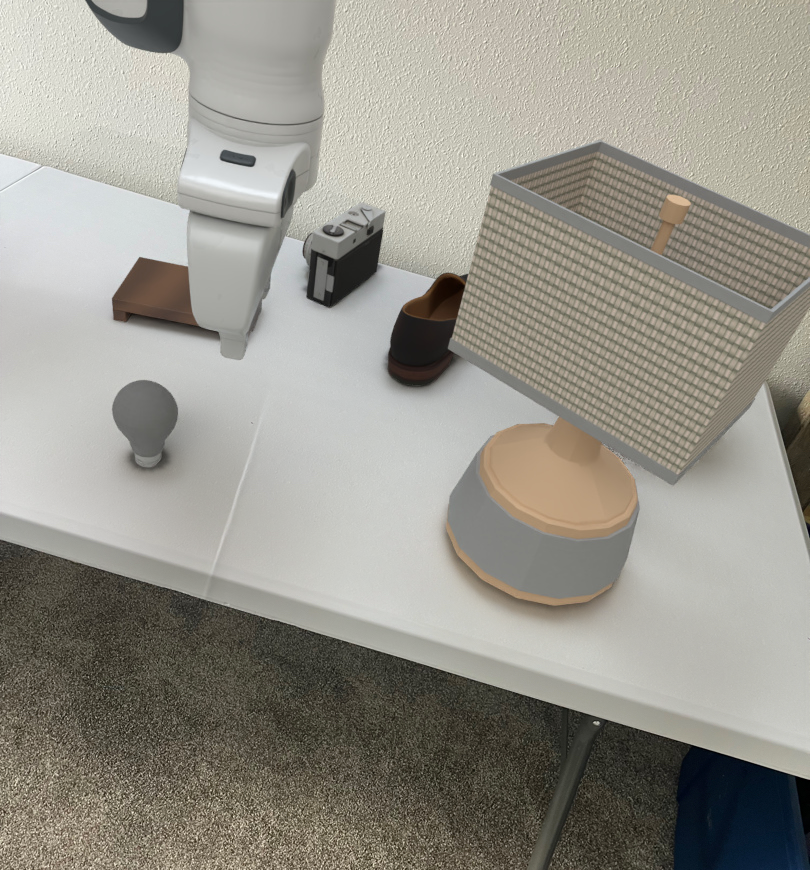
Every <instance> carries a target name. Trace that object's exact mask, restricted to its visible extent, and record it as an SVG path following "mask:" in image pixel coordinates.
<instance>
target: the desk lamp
mask: <svg viewBox="0 0 810 870" xmlns="http://www.w3.org/2000/svg"><path fill="white" fill-rule="evenodd" d="M489 186H490V189H489V193H488V197H487V201H486V205H485V209H484V212H483V217H482V220H481V224H480V227H479V231H478V236H477V240H476V243H475V247H474V251H473V255H472V259H471V263H470V266H469V270H468V273H467V274H468V278H467V282H466V285H465V289H464V293H463V297H462V301H461V305H460V309H459V312H458V316H457V320H456V324H455V328H454V332H453V336H452V338H450V342H449V346H448V349H449V350H451V351H452V352H454V353H455V354H456V355H457V356H459V357H461V358H462V359H464V360H465V361H467V362H469V363H470V364H472V365H474V366H475V367H477V368H478V369H480V370H481V371H483V372H485V373H487V374H488V375H490V376H491V377H493V378H494V379H497V380H498V381H499V382H502V384H505V385H506V386H508V387H510V388H511V389H513V390H514V391H516V392H518V393H520V394H521V395H522V396H524V397H526V398H527V399H529V400H531V401H533V402H534V403H536V404H538V405H539V406H541V407H543V408H544V409H546V410H547V411H549V412H551V413H552V414H554V415H556V416H557V419H556V421H555V422H554V423H553V424H549V423H545V422H541V423H540V422H539V423H517V424H514V425H512V426H509V427H506V428H504V429H502V430H499V431H496V432H495V434H493V435H490V436H489V437H488V438H487V439H486V441H485V442H484V443H483V444H482V446H481V447H480V448H479V449H478V450H477V452H476V453H475V455H474V457H473V458H472V460H471V461H470V463H469V464H468V466H467V468H466V469H465V471H463V472H464V473H463V474H462V475H461V477H460V479H459V480H458V482H457V483H456V485H455V486H454V488H453V490H452V491H451V493H450V495H449V500H448V505H447V513H446V524H445V526H446V527H445V530H446V532H447V535H448V537H449V539H450V541H451V543H452V546H453V548H454V551H455V553H456V556H457V557H458V558H460V559H461V561H463V562H464V564H465V565H466V566H468V568H469V569H471V571H472V572H474V574H476V575H477V577H479V578H480V580H482V581H484V582H485V583H487V584H489V585H491V586H493V587H495V588H497V589H499V590H500V591H502V592H503V593H506V594H508V595H509V596H512V597H513V598H516V599H519V600H523V601H529V602H534V603H539V604H543V605H549V606H553V607H554V606H555V607H556V606H564V605H571V604H573V605H574V604H579V603H587V602H589V601H591V600H593V599H595V598H596V597H598V596H599V595H601V594H603V593H604V592H607V590H609V589H611V588H612V586H613V585H614V583H615V582H616V581H617V580H618V578H619V577H620V575H621V573H622V570H623V568H624V566H625V564H626V561H627V560H628V557H629V553H630V548H631V545H632V541H633V538H634V532H635V530H636V525H637V521H638V517H639V513H640V510H641V507H640V506H641V505H640V501H639V500H640V499H639V493H638V487H637V485H636V479H635V478H634V476H633V475H632V473H631V471H630V470H629V469H628V467H627V466H626V465H625V463H624V461H623V460H622V459H621V458H620V457H619V456H618V455H617V454H616V453H614V452H613V451H615V452H617V453H618V454H620V455H622V456H623V457H624V458H626V459H628V460H630V461H631V462H633V463H634V464H636V465H638V466H640V467H641V468H643V469H645V470H646V471H648V472H649V473H651V474H652V475H655V476H656V477H658V479H661V480H663V481H664V482H666V483H667V484H669V485H671V486H672V487H673V486H675V485H676V484H677V483H678V482H679V481H680V479H682V478H683V477H684V475H685V474H687V472H688V471H689V470H690V469H692V468H693V466H694V465H696V463H697V462H698V461H699V460H701V458H703V456H704V455H705V454H706V453H707V452H708V451H709V450H710V449H711V448H713V446H714V445H716V444H717V442H718V441H719V440H720V439H721V438H722V437H723V436H724V435H725V434H726V433H727V432H728V431H729V430H730V429H731V428H732V427H733V426H734V425H735V424H736V423H737V422H738V421H739V420H740V419H741V418H742V416H743V415H744V414H745V413H746V412H748V410H750V408H751V407H752V406H753V404H754V402H755V400H756V396H758V393H759V392H760V390H761V388H762V387H763V385H764V383H765V382H766V380H767V379H768V377H769V375H770V373H771V372H772V371H773V369H774V367H775V365H776V364H777V362H778V361H779V359H780V358H781V356H782V354H783V352H784V351H785V349H786V348H787V346H788V344H789V343H790V341H791V340H792V338H793V336H794V335H795V333H796V331H797V330H798V328H799V326H800V324H801V323H802V321H803V319H804V318H805V316H806V315H807V313H808V311H809V310H810V233H808V232H805V231H803V230H802V229H799V228H798V227H794V226H792V225H790V224H788V223H786V222H783V221H781V220H779V219H777V218H775V217H773V216H771V215H768V214H765V212H764V213H763V212H761V211H759V210H757V209H755V208H753V207H750V206H748V205H745V204H744V203H741V202H739V201H737V200H735V199H732V198H730V197H728V196H726V195H723V194H721V193H719V192H717V191H715V190H713V189H711V188H708V187H705V186H703V185H701V184H699V183H697V182H694V181H692V180H690V179H688V178H687V177H684V176H681V175H679V174H677V173H675V172H672V171H671V170H667V169H666V168H663V167H662V166H659V165H656V164H655V163H652V162H650V161H647V160H646V159H643V158H642V157H639V156H636V155H634V154H632V153H630V152H628V151H626V150H623V149H621V148H619V147H617V146H614V145H612V144H610V143H608V142H606V141H603V140H601V139H599V140H596V141H592V142H589V143H586V144H583V145H580V146H576V147H573V148H570V149H567V150H564V151H561V152H557V153H555V154H551V155H548V156H544V157H541V158H539V159H535V160H532V161H528V162H525V163H523V164H518V165H516V166H513V167H509V168H506V169H503V170H500V171H497V172H494V173H492V175H491V180H490V183H489ZM607 447H608V448H607ZM609 448H610V449H612V450H613V451H611V450H610V449H609Z"/></svg>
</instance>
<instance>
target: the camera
mask: <svg viewBox="0 0 810 870" xmlns="http://www.w3.org/2000/svg"><path fill="white" fill-rule="evenodd" d="M386 213H387V212H386V210H384V209H382V208H378V207H376V206H374V205H371V204H368V203H366V202H364V201H363V202H362V201H361V202H359V203H357V204H355V205H354V206H352V207H350V208H349V209H347V210H345V211H344V212H343V213H341V214H339V215H338V216H336V217H334V218H333V219H331V220H330V221H328V222H327V223H325V224H323V225H321V226H320V227H318V228H317V229H315V230H313V231H312V232H311V233H309V234H308V235H307V237H306V238H305V240H304V242H303V246H302V251H301V252H302V256H303V259H305V262H306V265H307V266H308V267H309V270H308V277H307V278H308V279H307V287H306V298H307V299H308V300H311V301H313V302H315V303H317V304H319V305H322V306H324V307H326V308H329V309H330V308H331V307H333V306H335V305H336V304H337V303H338V302H340V301H341V300H342V299H344V298H345V297H346V296H347V295H349V294H350V293H352V292H353V291H354V290H355V289H356V288H358V287H360V285H361V284H363V283H364V282H365V281H367V280H368V279H369V278H371V277H372V276H373V275H375V274H376V273H377V272H378V265H379V259H380V253H381V248H382V241H383V236H384V224H385V217H386Z"/></svg>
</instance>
